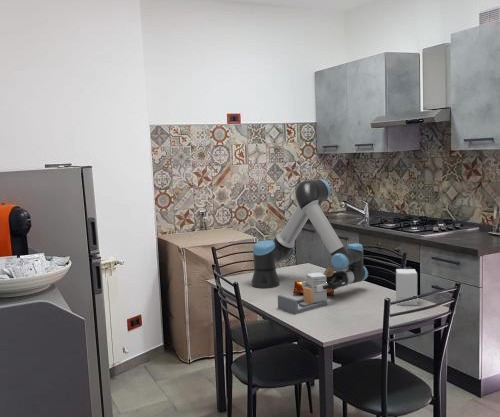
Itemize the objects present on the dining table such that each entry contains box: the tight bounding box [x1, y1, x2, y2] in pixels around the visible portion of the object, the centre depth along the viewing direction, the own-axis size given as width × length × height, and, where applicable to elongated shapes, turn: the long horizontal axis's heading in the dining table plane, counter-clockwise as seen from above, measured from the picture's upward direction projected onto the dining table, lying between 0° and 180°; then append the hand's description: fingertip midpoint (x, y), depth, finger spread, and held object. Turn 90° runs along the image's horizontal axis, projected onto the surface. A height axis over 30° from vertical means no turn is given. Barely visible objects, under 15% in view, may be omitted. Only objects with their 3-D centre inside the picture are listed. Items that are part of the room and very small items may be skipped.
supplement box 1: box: [306, 272, 328, 304], centre depth 244 cm, size 7×7×13 cm
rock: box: [323, 265, 335, 282], centre depth 273 cm, size 11×9×10 cm
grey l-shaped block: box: [277, 294, 328, 315], centre depth 239 cm, size 12×20×6 cm, turn 127°
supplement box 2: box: [395, 268, 418, 306], centre depth 239 cm, size 9×9×15 cm
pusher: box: [298, 287, 314, 308], centre depth 241 cm, size 5×5×8 cm
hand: (309, 286), depth 242 cm, fingers closed on supplement box 1, 9 cm apart
